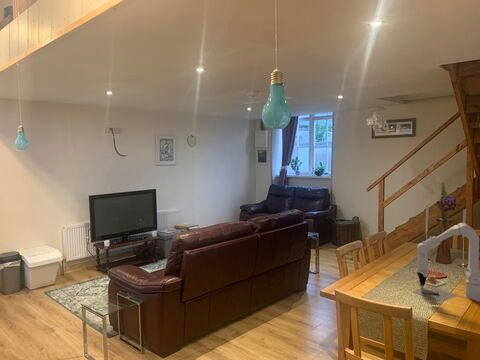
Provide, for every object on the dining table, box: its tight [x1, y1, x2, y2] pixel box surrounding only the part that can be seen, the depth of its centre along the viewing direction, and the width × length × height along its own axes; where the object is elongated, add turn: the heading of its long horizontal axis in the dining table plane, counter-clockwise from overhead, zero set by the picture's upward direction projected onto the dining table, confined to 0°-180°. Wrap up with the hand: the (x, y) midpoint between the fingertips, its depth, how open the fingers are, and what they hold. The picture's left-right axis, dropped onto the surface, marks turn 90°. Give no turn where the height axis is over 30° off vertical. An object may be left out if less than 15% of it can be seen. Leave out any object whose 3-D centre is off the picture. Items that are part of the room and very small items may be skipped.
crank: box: [419, 283, 439, 295], centre depth 219 cm, size 10×4×5 cm, turn 72°
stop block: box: [427, 274, 437, 285], centre depth 235 cm, size 4×4×5 cm
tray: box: [418, 277, 446, 288], centre depth 236 cm, size 11×11×2 cm
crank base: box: [412, 285, 458, 303], centre depth 218 cm, size 18×18×1 cm
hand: (422, 284), depth 223 cm, fingers closed
